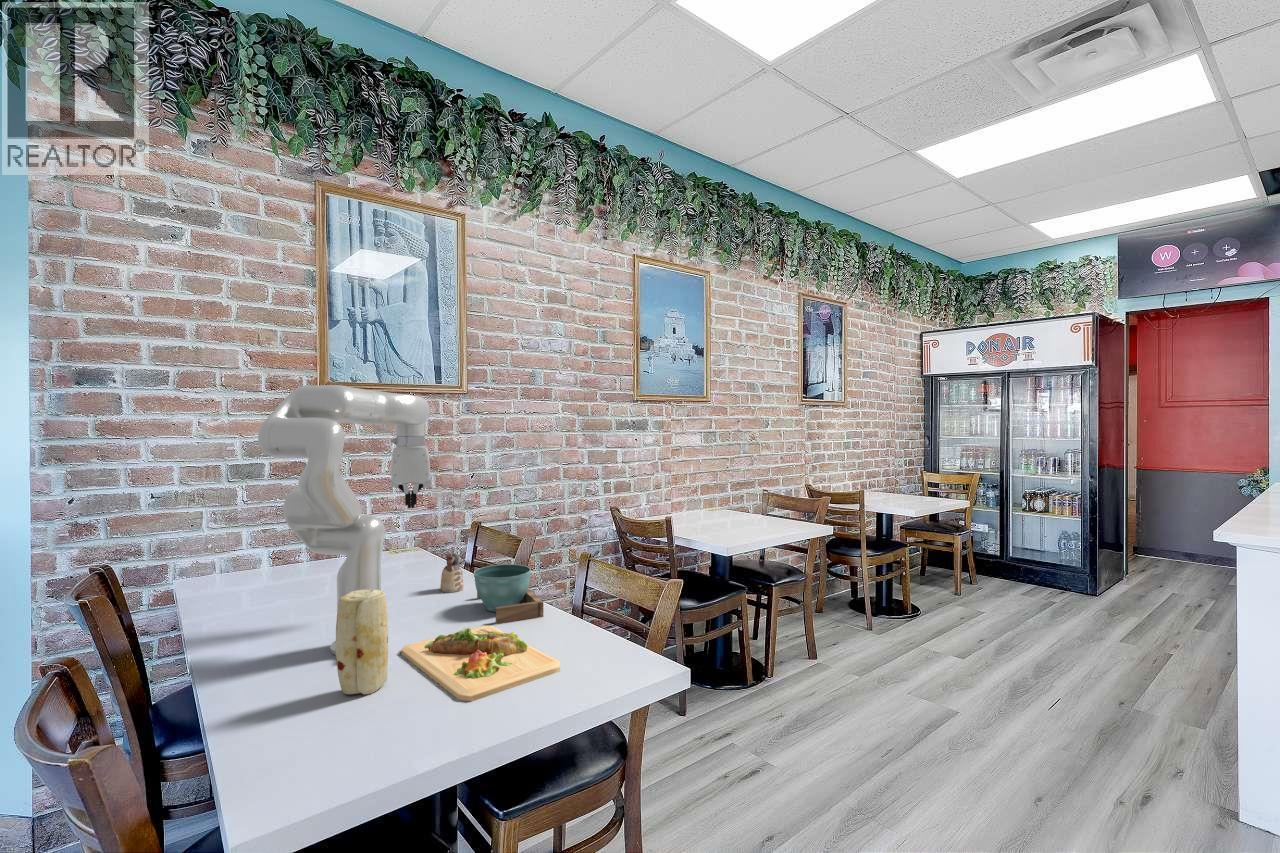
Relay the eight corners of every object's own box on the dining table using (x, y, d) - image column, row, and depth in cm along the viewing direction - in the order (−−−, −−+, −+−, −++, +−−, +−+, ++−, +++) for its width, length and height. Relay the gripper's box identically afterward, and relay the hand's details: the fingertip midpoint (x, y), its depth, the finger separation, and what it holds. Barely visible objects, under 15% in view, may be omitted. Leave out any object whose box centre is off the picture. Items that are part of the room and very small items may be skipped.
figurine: (467, 586, 193) (467, 550, 193) (458, 593, 186) (458, 555, 186) (446, 586, 194) (446, 549, 194) (436, 592, 187) (436, 554, 187)
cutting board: (565, 672, 129) (565, 637, 128) (464, 707, 113) (464, 668, 113) (488, 630, 155) (488, 602, 155) (397, 654, 139) (397, 622, 139)
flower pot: (471, 602, 177) (471, 566, 176) (526, 597, 182) (526, 561, 182) (476, 619, 161) (475, 579, 161) (535, 612, 167) (535, 574, 167)
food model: (383, 678, 124) (382, 583, 124) (394, 689, 119) (393, 590, 119) (332, 692, 118) (331, 592, 118) (341, 704, 113) (340, 599, 113)
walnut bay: (543, 616, 164) (543, 602, 163) (497, 623, 158) (497, 608, 158) (518, 592, 187) (518, 579, 187) (477, 598, 181) (477, 585, 181)
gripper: (381, 443, 160) (381, 510, 160) (439, 442, 166) (439, 507, 166) (381, 442, 167) (382, 507, 167) (437, 441, 173) (437, 504, 173)
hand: (410, 507), depth 167 cm, fingers closed
